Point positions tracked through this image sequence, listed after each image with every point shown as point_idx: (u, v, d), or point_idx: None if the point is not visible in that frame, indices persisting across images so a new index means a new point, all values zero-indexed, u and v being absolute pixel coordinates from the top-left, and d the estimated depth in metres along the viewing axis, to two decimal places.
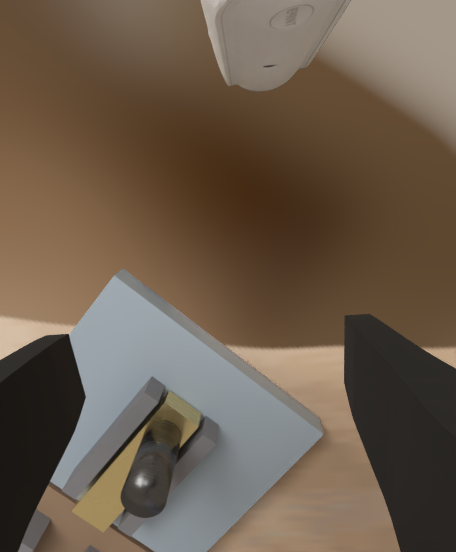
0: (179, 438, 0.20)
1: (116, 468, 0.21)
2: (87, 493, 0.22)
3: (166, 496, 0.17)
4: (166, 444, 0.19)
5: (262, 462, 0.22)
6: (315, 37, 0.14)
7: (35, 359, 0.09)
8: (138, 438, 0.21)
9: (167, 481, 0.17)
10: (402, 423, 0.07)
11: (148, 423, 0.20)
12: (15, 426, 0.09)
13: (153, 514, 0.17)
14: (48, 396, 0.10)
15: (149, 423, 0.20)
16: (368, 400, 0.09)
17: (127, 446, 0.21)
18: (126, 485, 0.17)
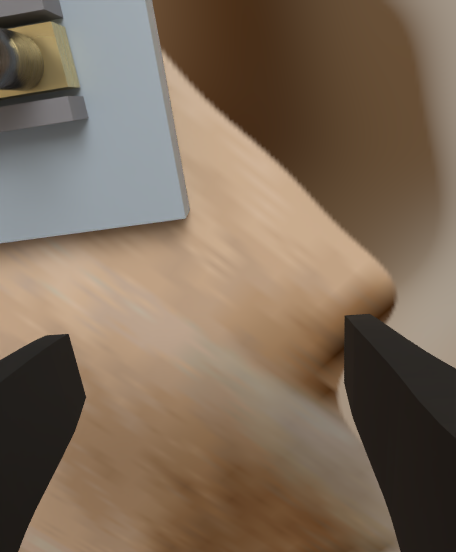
0: (36, 76, 0.14)
1: None
2: None
3: None
4: (18, 50, 0.13)
5: (102, 198, 0.18)
6: None
7: (35, 359, 0.09)
8: None
9: None
10: (402, 423, 0.07)
11: (11, 30, 0.14)
12: (15, 426, 0.09)
13: None
14: (48, 396, 0.10)
15: None
16: (368, 400, 0.09)
17: None
18: None
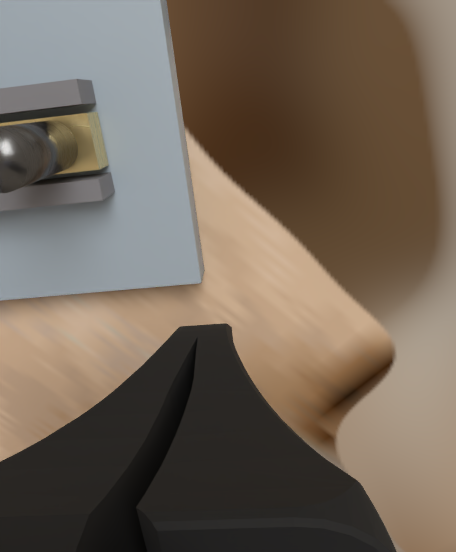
0: (71, 162, 0.16)
1: None
2: None
3: (23, 181, 0.12)
4: (58, 146, 0.14)
5: (124, 262, 0.19)
6: None
7: (192, 349, 0.09)
8: None
9: (35, 172, 0.13)
10: None
11: (49, 119, 0.15)
12: None
13: None
14: None
15: (50, 120, 0.15)
16: None
17: (4, 123, 0.16)
18: None
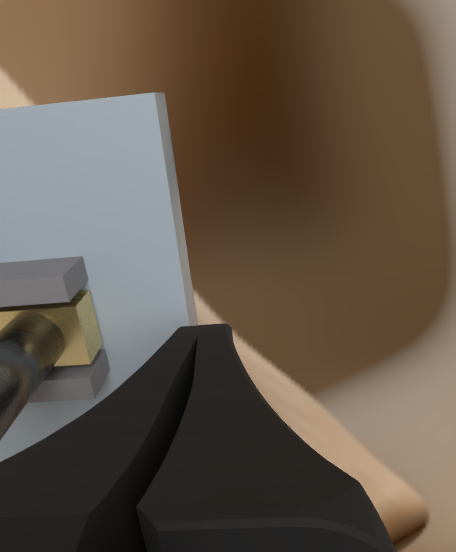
0: (56, 361, 0.13)
1: None
2: None
3: None
4: (38, 367, 0.11)
5: None
6: None
7: (192, 349, 0.09)
8: (0, 317, 0.13)
9: (6, 431, 0.10)
10: None
11: (30, 311, 0.13)
12: None
13: None
14: None
15: (31, 313, 0.13)
16: None
17: None
18: None
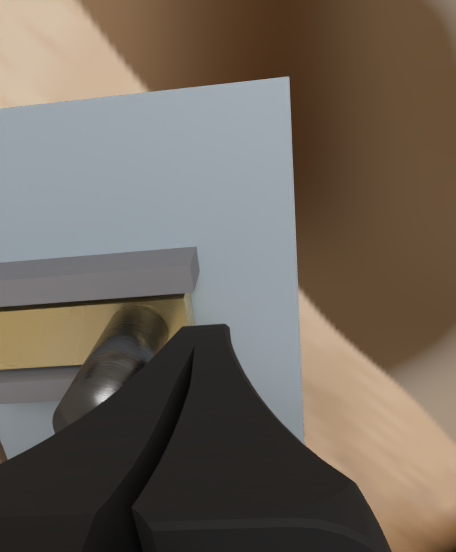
0: None
1: (38, 318, 0.13)
2: None
3: None
4: None
5: None
6: None
7: None
8: (104, 309, 0.13)
9: None
10: None
11: (136, 303, 0.12)
12: None
13: None
14: None
15: (137, 305, 0.12)
16: None
17: (79, 306, 0.13)
18: (88, 395, 0.09)
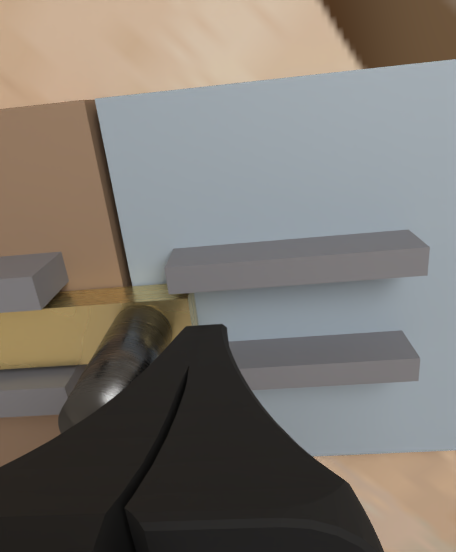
0: None
1: (42, 318, 0.13)
2: None
3: None
4: None
5: (388, 425, 0.15)
6: None
7: None
8: (108, 309, 0.13)
9: None
10: None
11: (140, 303, 0.12)
12: None
13: None
14: None
15: (141, 305, 0.12)
16: None
17: (83, 306, 0.13)
18: (94, 395, 0.09)
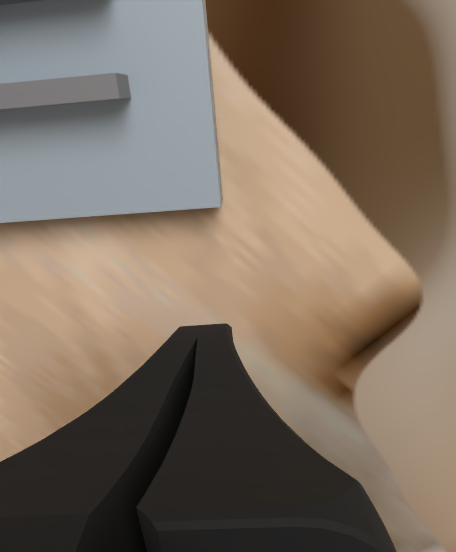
0: None
1: None
2: None
3: None
4: None
5: (138, 181, 0.17)
6: None
7: (192, 349, 0.09)
8: None
9: None
10: None
11: None
12: None
13: None
14: None
15: None
16: None
17: None
18: None
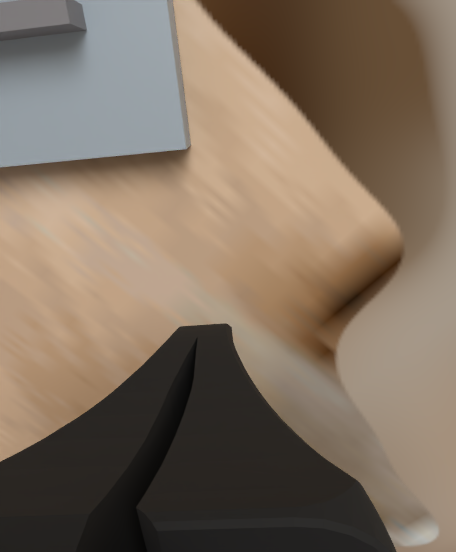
0: None
1: None
2: None
3: None
4: None
5: (98, 122, 0.17)
6: None
7: (192, 349, 0.09)
8: None
9: None
10: None
11: None
12: None
13: None
14: None
15: None
16: None
17: None
18: None
